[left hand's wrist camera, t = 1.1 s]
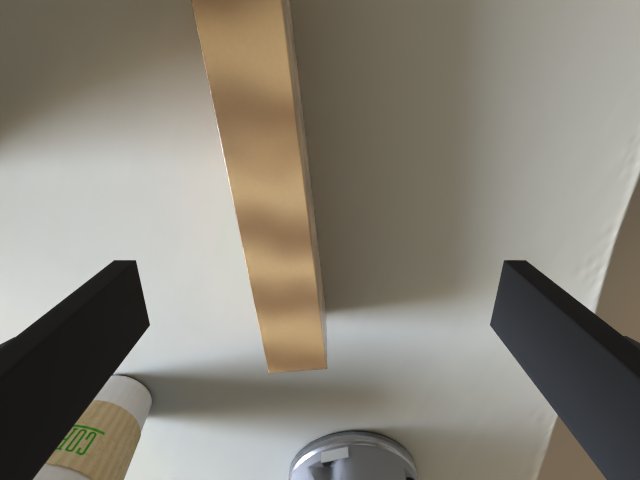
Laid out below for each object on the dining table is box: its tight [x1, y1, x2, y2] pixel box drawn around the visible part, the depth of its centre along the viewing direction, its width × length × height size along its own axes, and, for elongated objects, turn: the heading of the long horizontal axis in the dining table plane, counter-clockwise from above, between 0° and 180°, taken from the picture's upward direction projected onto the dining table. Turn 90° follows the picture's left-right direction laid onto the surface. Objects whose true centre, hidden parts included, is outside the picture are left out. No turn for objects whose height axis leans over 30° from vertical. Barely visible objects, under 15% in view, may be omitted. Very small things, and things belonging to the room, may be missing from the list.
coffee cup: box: [33, 375, 152, 480], centre depth 30 cm, size 10×10×15 cm
